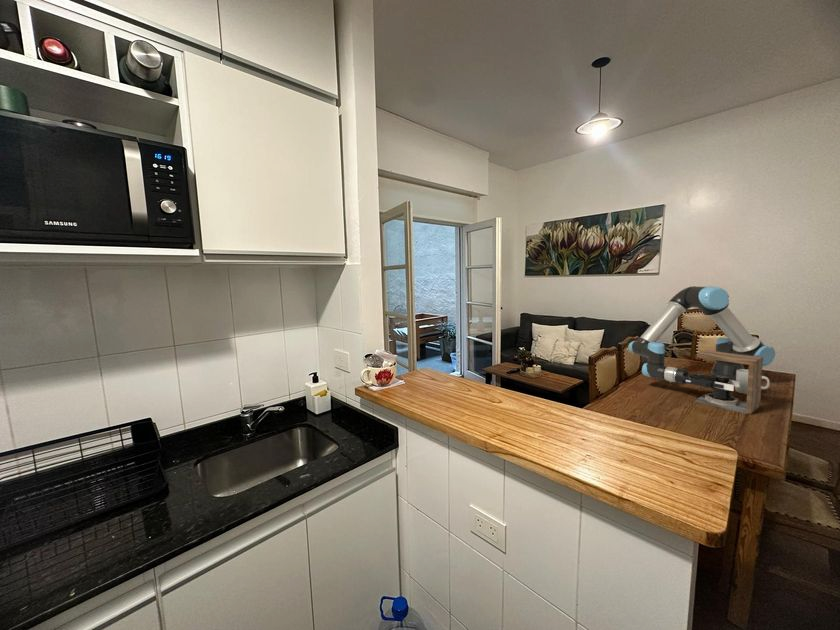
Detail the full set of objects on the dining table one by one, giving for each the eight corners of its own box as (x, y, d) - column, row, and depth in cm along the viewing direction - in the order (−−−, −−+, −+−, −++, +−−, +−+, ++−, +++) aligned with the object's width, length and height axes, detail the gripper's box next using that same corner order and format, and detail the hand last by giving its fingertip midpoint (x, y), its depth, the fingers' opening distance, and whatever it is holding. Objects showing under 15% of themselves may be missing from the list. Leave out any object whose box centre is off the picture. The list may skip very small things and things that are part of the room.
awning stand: (705, 395, 165) (707, 350, 162) (760, 407, 148) (762, 356, 146) (695, 401, 158) (696, 354, 155) (750, 414, 141) (753, 361, 139)
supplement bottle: (723, 398, 157) (724, 374, 156) (735, 404, 150) (736, 378, 149) (707, 398, 158) (709, 374, 157) (719, 403, 151) (720, 378, 150)
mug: (735, 392, 167) (736, 371, 165) (735, 388, 173) (736, 368, 171) (769, 397, 158) (770, 375, 157) (768, 393, 164) (769, 371, 163)
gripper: (685, 378, 174) (743, 389, 155) (668, 386, 164) (728, 399, 144) (685, 364, 174) (744, 374, 154) (668, 371, 163) (729, 382, 144)
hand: (736, 386), depth 149 cm, fingers open, 7 cm apart
